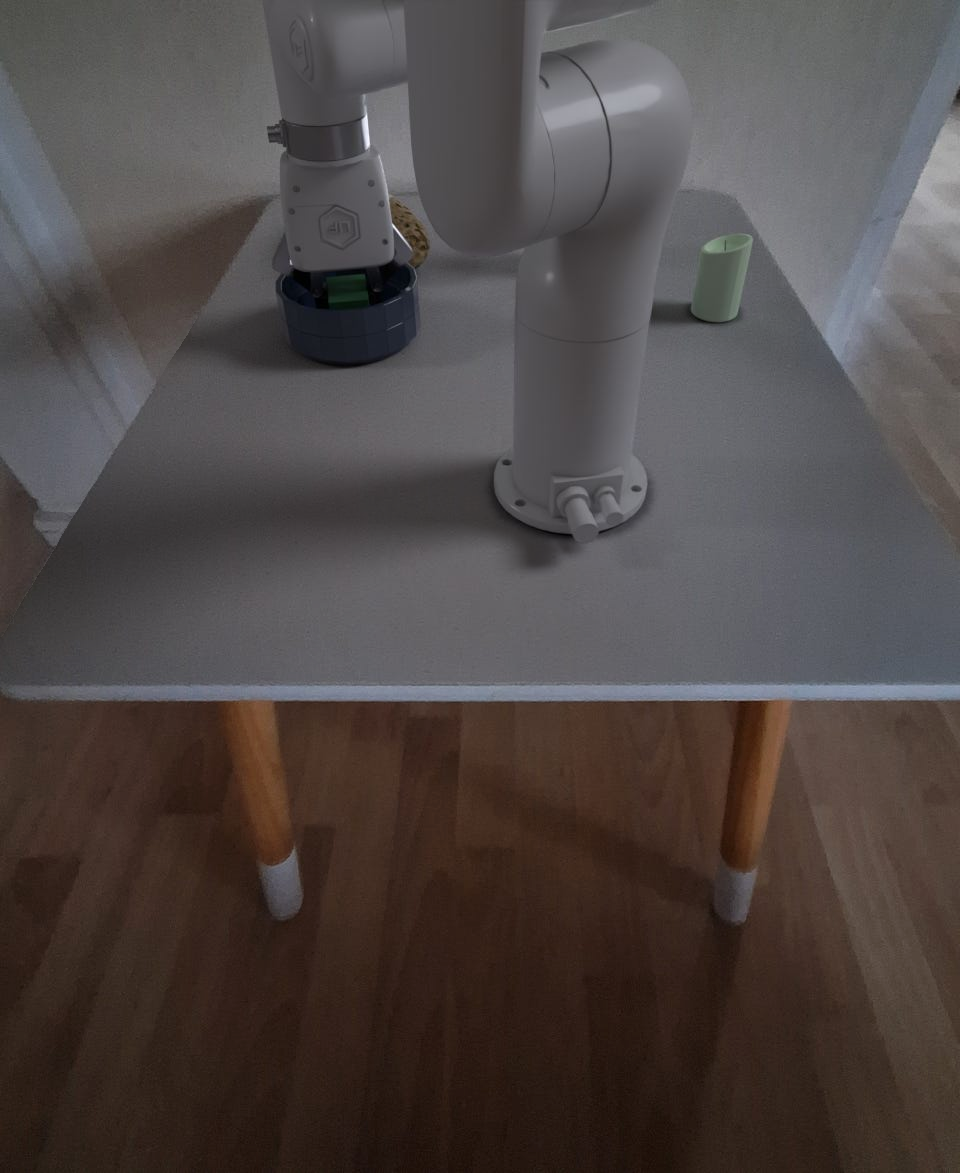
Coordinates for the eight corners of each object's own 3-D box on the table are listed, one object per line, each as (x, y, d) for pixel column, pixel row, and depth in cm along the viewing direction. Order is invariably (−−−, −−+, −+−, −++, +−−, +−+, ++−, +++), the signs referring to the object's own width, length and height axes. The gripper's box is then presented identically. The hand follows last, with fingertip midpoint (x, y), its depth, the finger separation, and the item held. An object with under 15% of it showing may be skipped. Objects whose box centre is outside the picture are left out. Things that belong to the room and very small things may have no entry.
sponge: (319, 238, 111) (312, 270, 94) (321, 172, 107) (315, 194, 90) (418, 250, 113) (429, 284, 96) (424, 187, 109) (437, 211, 92)
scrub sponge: (373, 339, 87) (368, 299, 84) (334, 343, 86) (328, 302, 83) (369, 313, 91) (364, 273, 88) (331, 316, 91) (326, 277, 88)
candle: (686, 318, 91) (699, 242, 85) (694, 298, 94) (707, 224, 88) (733, 326, 89) (749, 249, 84) (740, 305, 93) (756, 230, 87)
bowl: (428, 360, 85) (424, 304, 81) (286, 375, 84) (275, 318, 79) (412, 298, 95) (408, 245, 91) (285, 310, 94) (275, 256, 89)
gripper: (230, 157, 72) (271, 351, 85) (424, 143, 74) (435, 335, 87) (234, 130, 77) (271, 316, 90) (415, 118, 79) (426, 302, 92)
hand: (351, 323), depth 88 cm, fingers closed on scrub sponge, 4 cm apart
